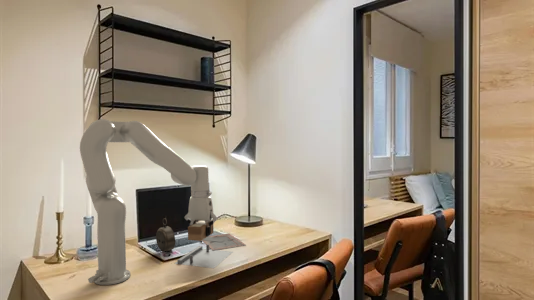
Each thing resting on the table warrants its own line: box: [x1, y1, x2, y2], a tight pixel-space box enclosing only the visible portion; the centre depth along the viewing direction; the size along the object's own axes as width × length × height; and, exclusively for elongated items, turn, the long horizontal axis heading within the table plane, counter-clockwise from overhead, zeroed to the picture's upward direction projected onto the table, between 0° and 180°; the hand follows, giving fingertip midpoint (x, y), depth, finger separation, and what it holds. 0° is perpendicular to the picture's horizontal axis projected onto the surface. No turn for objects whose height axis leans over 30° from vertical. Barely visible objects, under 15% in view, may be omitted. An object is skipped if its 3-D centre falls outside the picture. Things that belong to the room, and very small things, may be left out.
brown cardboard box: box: [187, 219, 215, 242], centre depth 146 cm, size 12×6×6 cm, turn 163°
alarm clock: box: [155, 217, 176, 252], centre depth 154 cm, size 11×5×16 cm, turn 45°
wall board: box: [174, 244, 233, 269], centre depth 145 cm, size 20×18×4 cm
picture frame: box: [202, 233, 246, 251], centre depth 167 cm, size 16×2×22 cm
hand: (201, 234), depth 146 cm, fingers closed on brown cardboard box, 6 cm apart
